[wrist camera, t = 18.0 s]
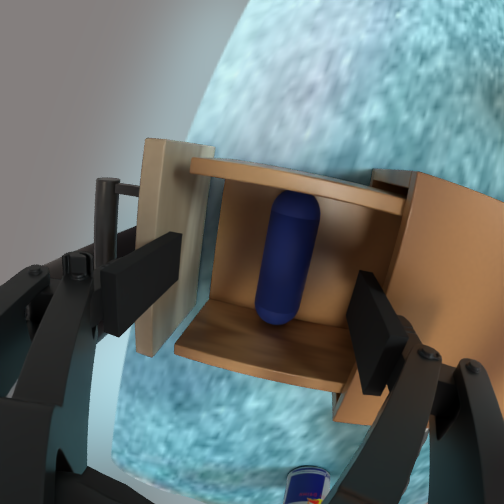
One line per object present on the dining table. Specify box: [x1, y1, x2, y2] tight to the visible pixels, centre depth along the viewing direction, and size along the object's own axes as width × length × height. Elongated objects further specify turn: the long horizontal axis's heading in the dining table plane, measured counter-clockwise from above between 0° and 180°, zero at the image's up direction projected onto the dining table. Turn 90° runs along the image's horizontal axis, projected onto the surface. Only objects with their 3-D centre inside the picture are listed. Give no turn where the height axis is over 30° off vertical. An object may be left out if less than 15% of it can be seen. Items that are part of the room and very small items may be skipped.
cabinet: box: [332, 168, 504, 428], centre depth 16 cm, size 17×14×10 cm
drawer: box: [94, 138, 407, 393], centre depth 18 cm, size 20×12×8 cm, turn 81°
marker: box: [255, 190, 321, 325], centre depth 19 cm, size 3×9×3 cm
